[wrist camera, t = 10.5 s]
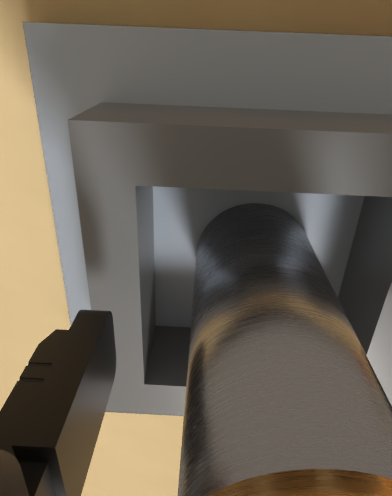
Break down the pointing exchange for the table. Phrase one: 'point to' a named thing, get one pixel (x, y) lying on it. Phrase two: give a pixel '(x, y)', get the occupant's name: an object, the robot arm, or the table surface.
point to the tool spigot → (276, 371)
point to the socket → (210, 174)
